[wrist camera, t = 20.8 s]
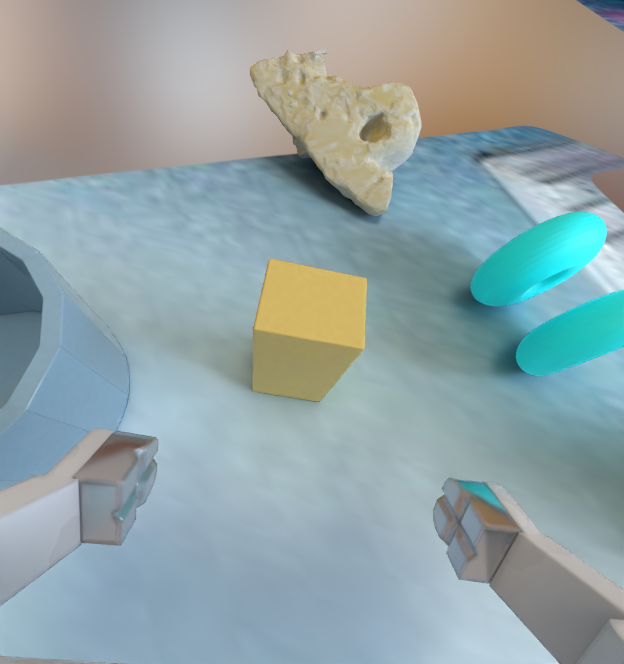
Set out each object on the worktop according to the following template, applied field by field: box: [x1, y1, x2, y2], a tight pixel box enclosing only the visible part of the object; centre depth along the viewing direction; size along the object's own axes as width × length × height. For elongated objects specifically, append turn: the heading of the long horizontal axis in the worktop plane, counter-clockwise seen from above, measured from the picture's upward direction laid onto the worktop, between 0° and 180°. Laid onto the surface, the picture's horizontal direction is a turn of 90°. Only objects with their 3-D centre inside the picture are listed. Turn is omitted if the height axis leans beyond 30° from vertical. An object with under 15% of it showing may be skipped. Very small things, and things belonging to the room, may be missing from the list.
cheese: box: [250, 49, 421, 216], centre depth 32 cm, size 15×7×15 cm
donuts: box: [471, 212, 624, 376], centre depth 25 cm, size 10×10×10 cm
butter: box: [252, 258, 367, 402], centre depth 19 cm, size 4×5×10 cm
